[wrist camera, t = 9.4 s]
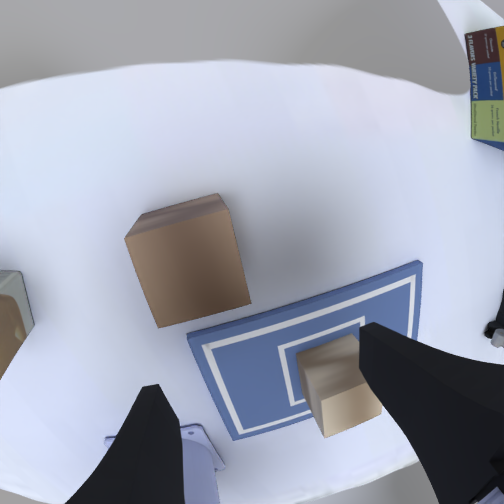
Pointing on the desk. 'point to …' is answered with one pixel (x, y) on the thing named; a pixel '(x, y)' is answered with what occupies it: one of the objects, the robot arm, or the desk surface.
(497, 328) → the scope
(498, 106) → the protein box
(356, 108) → the desk surface
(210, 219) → the walnut block
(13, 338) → the skincare box
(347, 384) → the maple block
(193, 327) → the desk surface
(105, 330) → the desk surface
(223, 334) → the board
